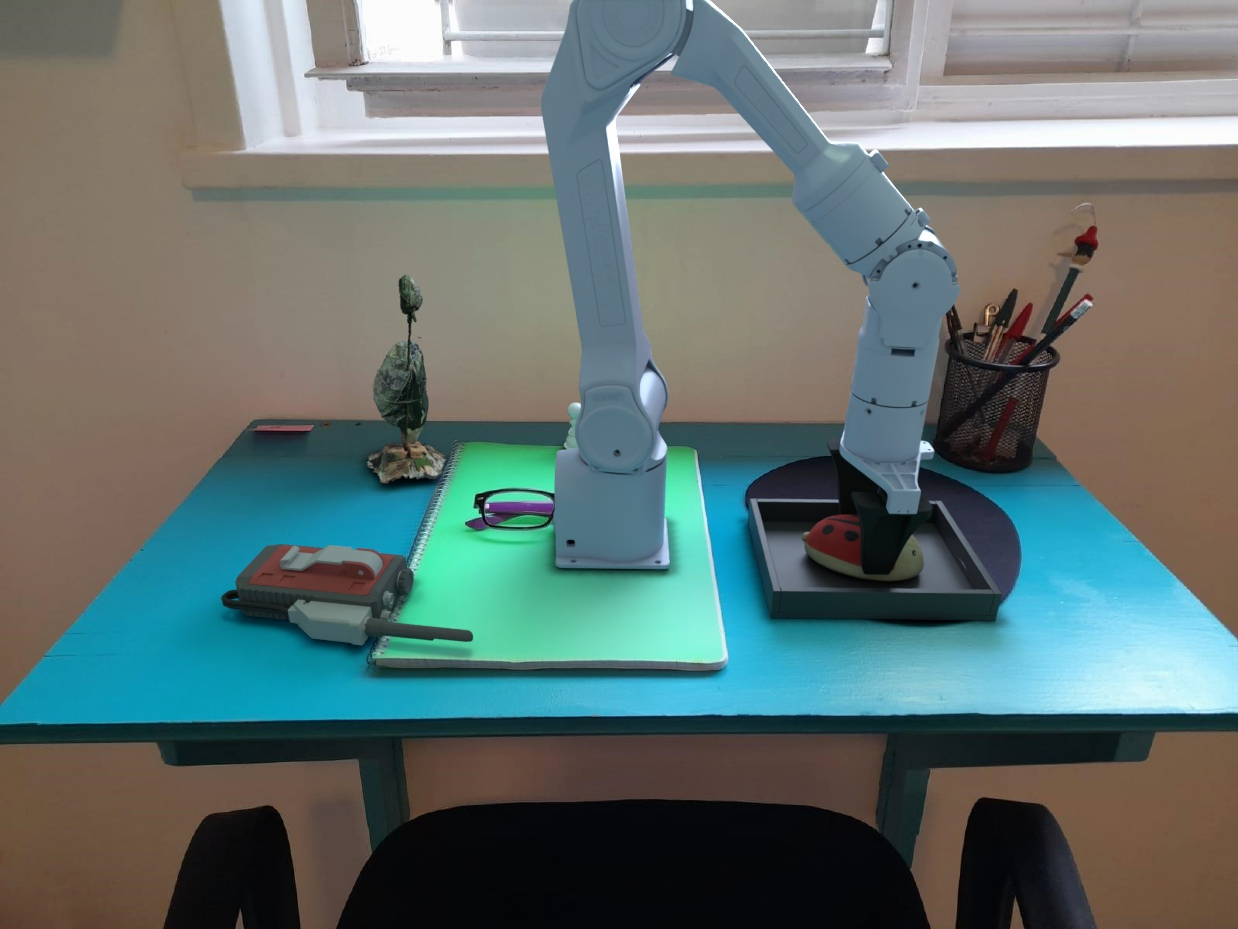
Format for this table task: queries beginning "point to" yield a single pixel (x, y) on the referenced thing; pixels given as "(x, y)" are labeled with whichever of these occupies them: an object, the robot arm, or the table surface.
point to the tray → (832, 595)
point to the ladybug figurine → (855, 550)
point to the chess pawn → (573, 413)
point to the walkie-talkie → (331, 593)
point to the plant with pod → (405, 402)
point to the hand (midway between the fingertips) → (864, 545)
